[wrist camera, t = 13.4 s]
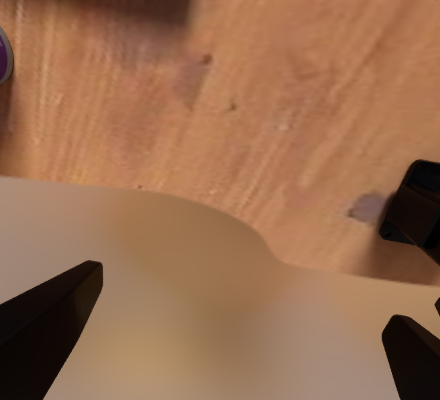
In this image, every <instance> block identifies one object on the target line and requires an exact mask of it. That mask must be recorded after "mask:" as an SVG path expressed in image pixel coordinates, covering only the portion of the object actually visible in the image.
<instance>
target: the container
mask: <svg viewBox="0 0 440 400" xmlns="http://www.w3.org/2000/svg"><path fill="white" fill-rule="evenodd" d="M12 68H13V54H12V49H11V46H10V43H9V41H8V39H7V37H6V35H5V33H4V32H3V30H2V29H1V27H0V85H1V84H2V83H4V82H5V81H6V80H7V79H8V78H9V76H10V74H11V72H12Z"/></svg>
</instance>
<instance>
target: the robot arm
mask: <svg viewBox="0 0 440 400" xmlns="http://www.w3.org/2000/svg"><path fill="white" fill-rule="evenodd" d="M420 165H422V167H421V169H419V170H418V167H419V166H420ZM386 232H389V233H388V234H385V233H386ZM379 235H380V236H381V237H382V238H383V239H385V240H389V241H395V242H400V243H406V244H411V245H416V246H417V247H419V248H421V249H422V250H423V251H424V252H425V253H426V254H427V255H428V256H429V257H431V258H432V259H433V260H434V261H435V262H436V263H437V264H438V265H439V266H440V163H438V162H433V161H427V160H422V159H419V160H416V161H415V162H413V164H412V165H411V167H410V169H409V171H408V173H407V175H406V177H405V179H404V181H403V183H402V185H401V187H400V188H399V190H398V192H397V194H396V196H395V198H394V200H393V202H392V204H391V206H390V208H389V210H388V212H387V214H386V218H385V220H384V222H383V224H382V226H381V228H380V230H379ZM102 287H103V265H102V263H101V262H97V261H91V260H88V261H85V262H83V263H81V264H80V265H77V266H75V267H73V268H71V269H69V270H67V271H65V272H63V273H61V274H60V275H57V276H56V277H54V278H52V279H50V280H48V281H46V282H44V283H42V284H40V285H38V286H36V287H34V288H32V289H30V290H28V291H26V292H24V293H22V294H20V295H18V296H16V297H14V298H12V299H10V300H8V301H6V302H4V303H2V304H0V400H43V398H44V397H45V395H46V393H47V392H48V390H49V388H50V387H51V385H52V383H53V382H54V380H55V378H56V377H57V375H58V373H59V372H60V370H61V368H62V367H63V365H64V363H65V362H66V360H67V358H68V357H69V355H70V353H71V352H72V350H73V348H74V346H75V345H76V343H77V341H78V339H79V337H80V335H81V333H82V331H83V329H84V327H85V324H86V323H87V320H88V318H89V316H90V314H91V312H92V309H93V307H94V305H95V303H96V301H97V299H98V297H99V295H100V293H101V290H102ZM435 307H436V309H437V311H438V314H439V316H440V298H439V299H438V300H437V301H436V303H435ZM382 342H383V345H384V349H385V352H386V355H387V359H388V362H389V365H390V369H391V372H392V375H393V378H394V382H395V385H396V388H397V391H398V394H399V397H400V399H401V400H440V340H439V339H438V338H437V337H436V336H434V335H433V334H432V333H430V332H429V331H428V330H426V329H425V328H424V327H422V326H421V325H420V324H418V323H417V322H415V321H414V320H413V319H412V318H410V317H407V316H403V315H397V314H396V315H393V316H392V317H391V319H390V321H389V322H388V324H387V325H386V327H385V329H384V330H383V333H382Z"/></svg>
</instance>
